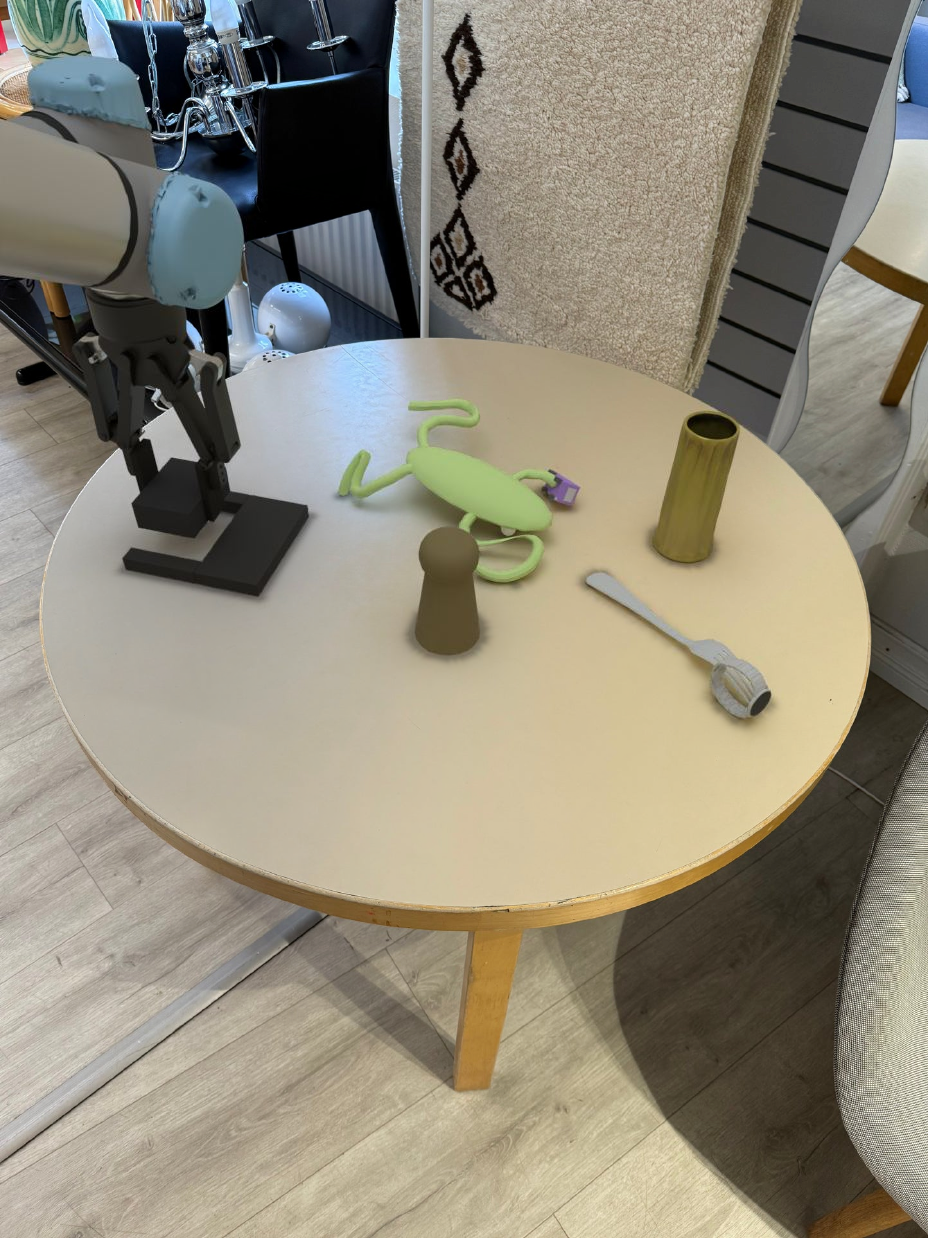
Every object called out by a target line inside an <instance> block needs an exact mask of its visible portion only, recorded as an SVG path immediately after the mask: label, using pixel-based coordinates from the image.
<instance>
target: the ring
mask: <svg viewBox="0 0 928 1238" xmlns="http://www.w3.org/2000/svg"><path fill="white" fill-rule="evenodd" d="M726 667H730V668H731V669H733V668H734V669H735V670H737V671H740V673H742V675H743V676H744V677H745V679H746V680H747V681H748V682H749V684H750V685H751V687H752V688H753V690H754V691H753V693H752V699H751V698H750V700H749V702H750V703H749V704H747V707H745V705H742V704H741V703H739V701H737V700H736V699H735V698H734V697H733V695H732V694H731V693H730V692H729V690H728V689H727V687H726V686H725V684H724V683H725V682H724V681H723V673H725V671H726V672H727V670H726ZM709 687H710V689H711V692H712V693H713V695H714V697H715V698H716V699H717V701H718V703H719V704H720V705H721V706H722V707H723V709H725V710H726V711H727V712H728V713H730V714H731V715H732V716H735V717H737V718H742V719H746V718H748V719H750V718H751V717H756V716H757V715H759V714H760V713H762V711H763V710H764V709H765V708H766V707H767V706H768V704H769V703H770V700H771V698H772V691H771V689H769V685H768V684H767V683H766V679H765V677H764V675H763V674H762V672H761V671H760V670H759V669H758V668H757V666H755V665H753V664H752V663H750V662H749V661H748V660H745V659H744V658H743V659H742V658H738V657H737V658H735V657H729V656H727V658H725V659H723V660H722V661H721V662H718V663H717V664H716V665H714V666H713V667H712V668H711V672H710V676H709Z"/></svg>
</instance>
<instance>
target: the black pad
mask: <svg viewBox="0 0 928 1238" xmlns="http://www.w3.org/2000/svg"><path fill="white" fill-rule="evenodd" d="M224 500H225V505H226V506H225V507H224V509H223V510H222V511H221V512H227V513H232V514H234V516H233V518H232V519H231V520H230V522H229V523H228V524H227V526H226V527H225V528H224V530H223V531H222V533H221V534H220V535H219V537H218V538H217V540H216V541H215V542H214V544H213V545H212V546H211V548H210V549H209V550H208V552H207V553H206V555H204V558H203V559H202V560H199V559H198V560H197V559H191V558H188V557H183V556H177V555H171V554H167V553H162V552H157V551H151V550H146V549H141V548H136V547H132V546H131V547H130V548H129V549H128V550H127V552H125V554H124V555H123V556H122V557H121V559H122V562H123V565H124V569H125V570H127V571H131V572H136V573H140V574H145V575H150V576H155V577H160V578H165V579H171V580H174V581H180V582H185V583H190V584H195V585H200V586H205V587H210V588H214V589H220V590H225V591H230V592H235V593H239V594H245V595H249V596H255V597H260V595H261V593H262V592H263V591H264V589H265V587H266V585H267V584H268V582H269V581H270V579H271V577H272V576H273V575H274V573H275V571H276V570H277V568H278V566H279V565H280V563H281V562H282V560H283V558H284V557H285V555H286V553H288V550H289V549H290V548H291V546H292V544H293V542H294V541H295V539H296V537H297V536H298V535H299V533H300V531H301V530H302V528H303V527H304V525H305V523H306V522H307V520H308V518H309V517H310V515H309V506H308V504H302V503H297V502H291V501H286V500H281V499H276V498H270V497H265V496H259V495H253V494H248V493H243V492H238V491H233V490H230V493H229V494H228V495H227V497H226V498H225V499H224Z"/></svg>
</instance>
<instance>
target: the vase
mask: <svg viewBox="0 0 928 1238" xmlns="http://www.w3.org/2000/svg"><path fill="white" fill-rule="evenodd" d="M679 432H680V433H679V436H678V441H677V446H676V450H675V455H674V459H673V462H672V465H671V470H670V473H669V478H668V480H667V485H666V488H665V493H664V496H663V500H662V503H661V508H660V513H659V518H658V523H657V526H656V528H655V530H654V532H653V535H652V544H653V546H654V548H655V550H657V551H658V553H660V554H661V555H662V556H664V557H665V558H667V559H670V560H673V561H675V562H680V563H695V562H700V561H702V560H704V559H706V558H707V557H708V556H709V555H710V554H711V552H712V550H713V545H714V537H715V531H716V528H717V522H718V518H719V515H720V512H721V508H722V505H723V500H724V496H725V492H726V488H727V484H728V477H729V475H730V472H731V469H732V464H733V461H734V456H735V454H736V449H737V445H738V442H739V438H740V434H741V427H740V424H739V423H738V422H737V421H736V420H735V419H734V418H733V417H732V416H730V415H727V414H725V413H723V412H721V411H714V410H699V411H693V412H692V413H689V414H687V416H686V417H684V419H683V422H682V425H681V428H680V431H679Z"/></svg>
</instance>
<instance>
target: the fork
mask: <svg viewBox="0 0 928 1238" xmlns="http://www.w3.org/2000/svg"><path fill="white" fill-rule="evenodd" d="M585 583H586V584H587V585H588V586H591V587H592V588H594V589H596V590H597V591H599V592H601V593H602V594H604V595H606V596H608V597H609V598H611V599H613V600H614V601H616V602H618V603H620V604H622V605H623V606H625V607H627V609H630V610H631V611H633V612H634V613H636V614H637V615H639V616H641V617H642V618H644V619H646V620H647V621H648V622H650V623H651V624H652V625H654V626H655V627H657V628H658V629H660V630H661V631H662V632H664V633H666V635H668V636H670V637H671V638H673V639H675V640H676V641H678V642H679V643H681V644H684V645H686V646H688V648H689V649H690V650H689V651H690V652H691V653H692V654H693V655H696V656H698V657H699V658H702V659H703V660H705V661H706V662H708V663H710V664H711V665H712V666H713V667H714V665H716V664H717V663H719V662H721V661H722V660H724V659H725V658H727V657H735V658H738V657H737V656H736V655H735V653H733V651H732V650H731V648H729V647H728V646H727V645H726V644H724V643H722V642H721V641H718V640H715V639H713V638H712V639H711V638H710V639H709V638H707V639H701V640H694V639H691V638H688V637H686V636H685V635H683V634H681V633H679V632H678V631H677V630H676V629H674V628H673V627H672V626H670V625H669V624H668V623H667V622H665V621H664V620H663V619H662V618H660V617H659V616H657V615H656V614H655V613H654V612H653V611H652V610H650V609H649V608H648V607H647V606H646V605H645V604H644V603H643V602H641V600H639V599H638V598H637V597H636V596H635V595H634V594H633V593H632V592H631V591H630V590H629V589H628V588H626V587H625V586H624V585H623V584H622V583H620V581H618V580H617V579H616V578H615V577H613V576H611V575H610V574H607V573H606V572H600V571H599V572H593V573H592V574H591V575H588V576H587V577H586V578H585ZM722 677H724V678H725V679H726V680H727V682H728V683H729V684H730V685H731V686H732V687H733V688H734V689H735V691H736V692H737V693H738V694H739V695H740V696H741V697H742V698H743V700H744V701H745V702H746V703H747V705H749V703H750V700H751V699H752V697H753V691H754V689H753V687H752V685H751V683H750V682H749V680H748V679H747V678H746V676H744V675H743V674H742V673H740V671H737V670H735V669H734V668H730V667H726V671H725V673H723V675H722ZM745 685H746V686H745ZM741 689H742V690H743V691H744V692H743V691H742V690H741ZM749 690H750V691H749ZM750 692H751V693H752V694H751V693H750ZM744 693H746V695H747V696H748V697H749V698H750V700H749V699H748V698H747V696H746V695H745V694H744Z"/></svg>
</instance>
